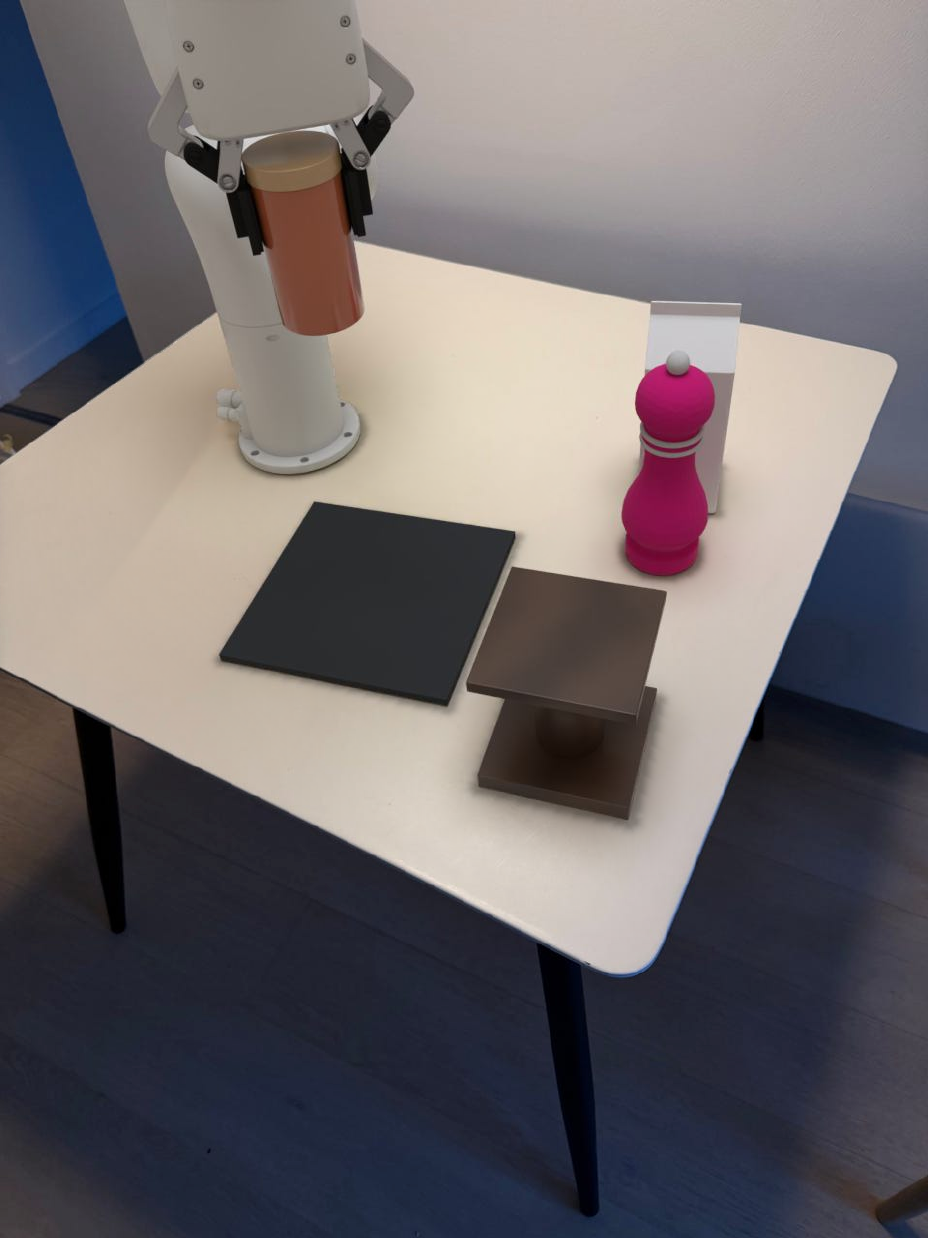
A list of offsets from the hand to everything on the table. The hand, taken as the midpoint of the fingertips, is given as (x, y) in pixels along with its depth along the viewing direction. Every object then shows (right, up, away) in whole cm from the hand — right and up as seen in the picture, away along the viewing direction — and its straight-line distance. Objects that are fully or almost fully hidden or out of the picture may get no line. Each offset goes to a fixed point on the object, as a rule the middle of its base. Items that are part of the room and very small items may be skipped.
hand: (307, 233), depth 62 cm
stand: (+18, -33, +12) cm, 40 cm away
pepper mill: (+27, -18, +26) cm, 42 cm away
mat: (+2, -22, +25) cm, 33 cm away
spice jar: (0, -4, +4) cm, 6 cm away
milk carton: (+30, -12, +31) cm, 45 cm away
